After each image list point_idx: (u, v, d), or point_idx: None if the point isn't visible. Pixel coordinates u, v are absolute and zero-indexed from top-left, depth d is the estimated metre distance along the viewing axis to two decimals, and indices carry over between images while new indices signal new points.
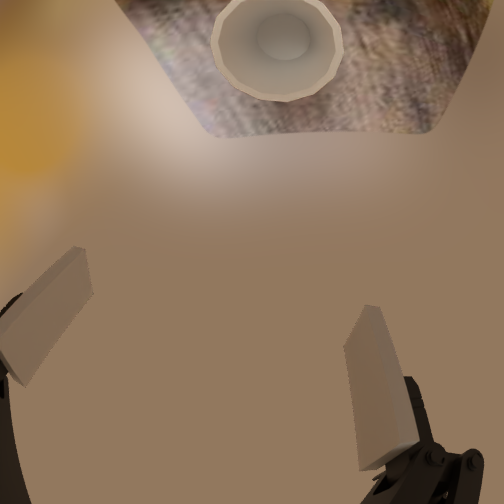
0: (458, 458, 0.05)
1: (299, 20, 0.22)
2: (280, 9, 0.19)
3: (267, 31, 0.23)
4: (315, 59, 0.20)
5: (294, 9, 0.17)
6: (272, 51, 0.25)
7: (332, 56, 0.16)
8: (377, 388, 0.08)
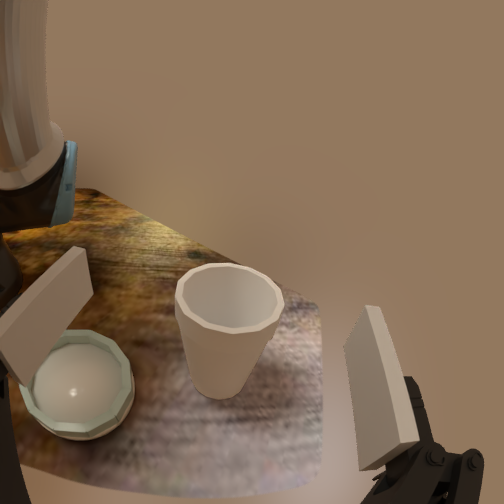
0: (458, 458, 0.05)
1: None
2: None
3: None
4: (249, 324, 0.29)
5: None
6: None
7: (250, 275, 0.27)
8: (377, 388, 0.08)
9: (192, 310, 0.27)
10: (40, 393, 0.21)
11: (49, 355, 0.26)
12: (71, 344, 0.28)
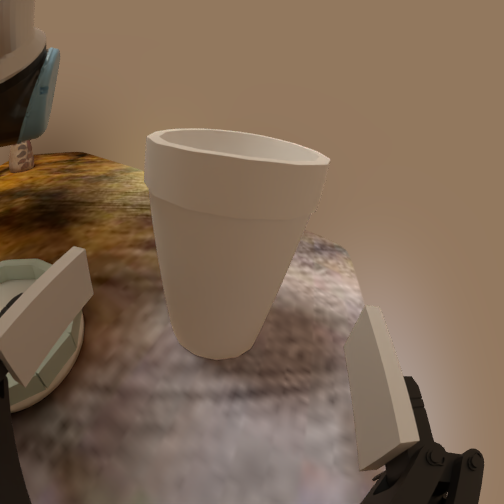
0: (458, 458, 0.05)
1: None
2: None
3: None
4: None
5: None
6: None
7: (269, 143, 0.17)
8: (377, 388, 0.08)
9: None
10: None
11: None
12: (11, 280, 0.18)
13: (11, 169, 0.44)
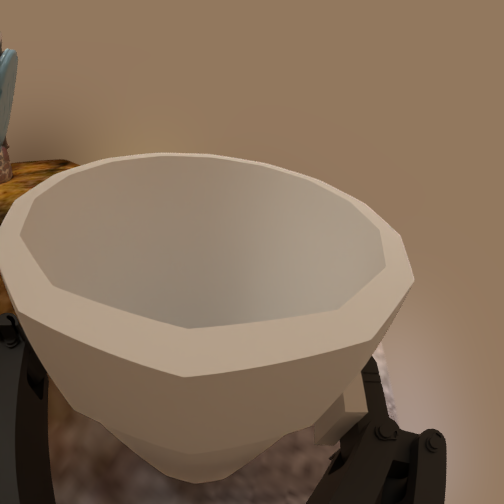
0: (415, 440, 0.06)
1: None
2: None
3: None
4: (266, 319, 0.12)
5: None
6: None
7: (271, 178, 0.10)
8: None
9: (111, 277, 0.09)
10: None
11: None
12: None
13: None
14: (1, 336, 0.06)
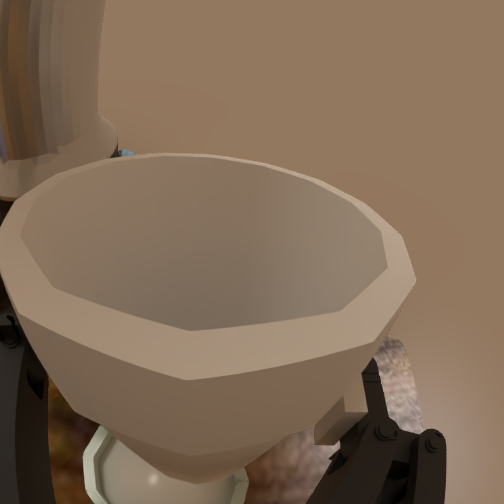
0: (415, 440, 0.06)
1: None
2: None
3: None
4: (266, 320, 0.12)
5: None
6: None
7: (271, 178, 0.10)
8: None
9: (112, 278, 0.09)
10: (116, 495, 0.14)
11: (115, 441, 0.19)
12: None
13: None
14: (1, 336, 0.06)
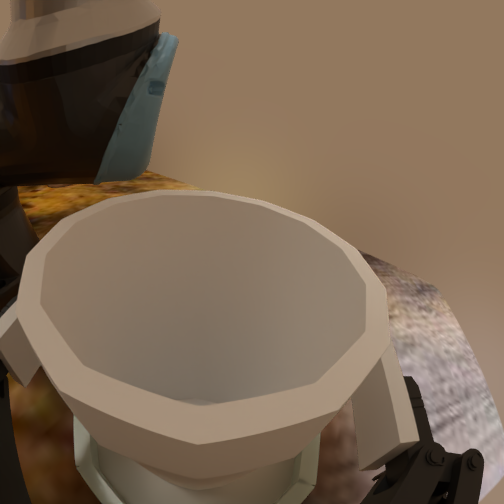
0: (458, 457, 0.05)
1: None
2: (133, 384, 0.12)
3: None
4: (262, 345, 0.12)
5: (144, 345, 0.12)
6: None
7: (268, 217, 0.10)
8: (377, 388, 0.08)
9: (118, 309, 0.10)
10: (123, 474, 0.10)
11: None
12: None
13: None
14: None
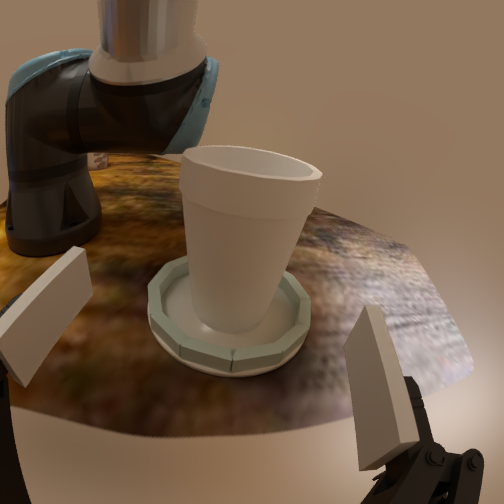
0: (458, 458, 0.05)
1: None
2: None
3: None
4: None
5: None
6: None
7: (274, 158, 0.22)
8: (377, 388, 0.08)
9: None
10: (180, 326, 0.22)
11: (177, 282, 0.26)
12: None
13: None
14: None
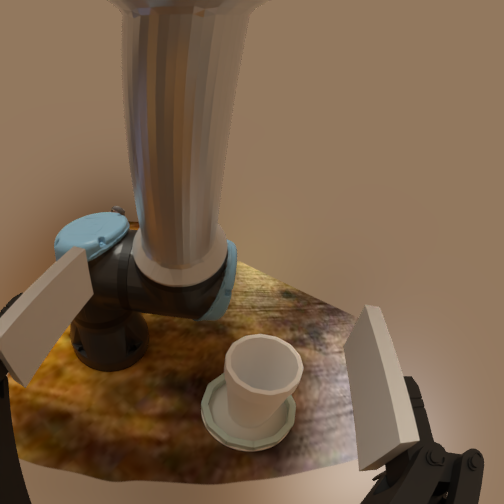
0: (458, 458, 0.05)
1: None
2: None
3: None
4: (274, 374, 0.37)
5: None
6: None
7: (277, 343, 0.35)
8: (377, 388, 0.08)
9: (233, 369, 0.35)
10: (222, 425, 0.35)
11: (215, 394, 0.40)
12: None
13: None
14: None
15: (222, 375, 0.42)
